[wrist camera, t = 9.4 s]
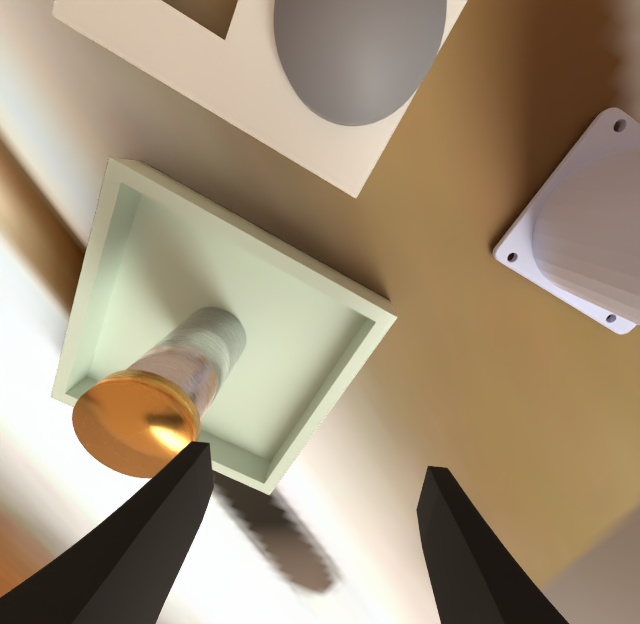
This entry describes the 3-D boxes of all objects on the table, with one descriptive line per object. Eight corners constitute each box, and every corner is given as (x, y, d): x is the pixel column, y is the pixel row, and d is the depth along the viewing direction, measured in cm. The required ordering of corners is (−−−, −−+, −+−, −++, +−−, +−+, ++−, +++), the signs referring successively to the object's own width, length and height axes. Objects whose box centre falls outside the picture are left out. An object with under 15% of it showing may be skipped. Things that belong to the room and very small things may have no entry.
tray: (390, 301, 19) (397, 317, 16) (276, 466, 24) (269, 495, 22) (141, 160, 17) (108, 156, 14) (80, 375, 22) (50, 396, 20)
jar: (253, 309, 19) (189, 396, 11) (248, 372, 21) (190, 486, 13) (179, 296, 19) (63, 374, 11) (180, 360, 21) (81, 467, 13)
